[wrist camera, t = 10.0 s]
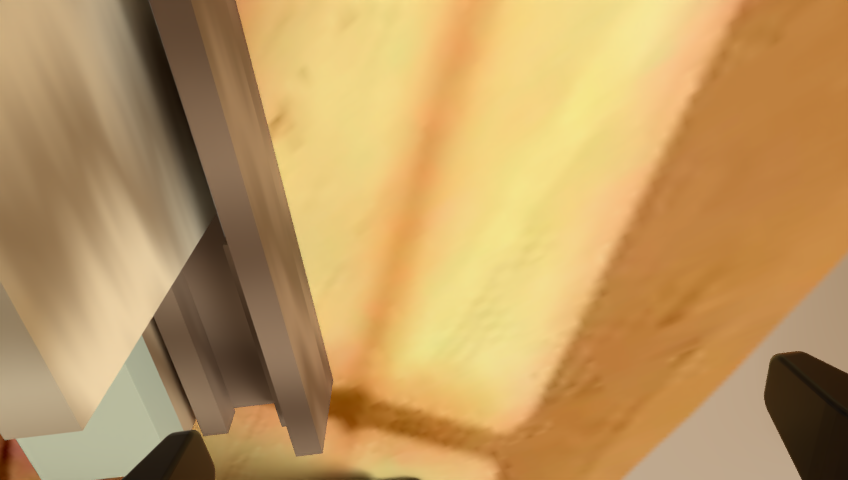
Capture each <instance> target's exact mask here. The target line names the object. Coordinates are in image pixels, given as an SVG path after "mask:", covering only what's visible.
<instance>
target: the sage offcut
mask: <svg viewBox="0 0 848 480" xmlns="http://www.w3.org/2000/svg"><path fill="white" fill-rule="evenodd" d="M179 431H184V430H183V428H182V426H181V423H180V421H179V419H178V417H177V414H176V412H175V410H174V407H173V405H172V403H171V401H170V398H169V396H168V394H167V392H166V389H165V387H164V385H163V382H162V380H161V378H160V376H159V373H158V371H157V369H156V366H155V364H154V362H153V360H152V357H151V355H150V353H149V350H148V348H147V346H146V344H145V341H144V339H143V337H142V335H141V337H140V338H139V340H138V342H137V343H136V345H135V346H134V348H133V350H132V351H131V353H130V355H129V356H128V358H127V360H126V361H125V363H124V364H123V366H122V368H121V369H120V371H119V373H118V374H117V376H116V377H115V379H114V381H113V382H112V384H111V386H110V387H109V389H108V391H107V392H106V394H105V395H104V397H103V399H102V400H101V402H100V404H99V405H98V407H97V408H96V410H95V412H94V413H93V415H92V417H91V418H90V420H89V421H88V423H87V425H86V426H85V428H84V430H83V431H77V432H69V433H60V434H52V435H44V436H35V437H27V438H18V439H16V440H17V442H18V443H19V445H20V447H21V448H22V450H23V451H24V453H25V455H26V456H27V458H28V459H29V461H30V462H31V464H32V466H33V467H34V469H35V470H36V472H37V474H38V475H39V477H40V478H41V480H98V479H107V478H115V477H124V476H126V475H127V474H128V473H129V472H130V471H131V470H132V469H133V468H134V467H135V466H136V465H137V464H138V463H139V462H140V461H141V460H143V459H144V458H145V457H146V456H147V455H148V454H149V453H150V452H151V451H152V450H153V449H154V448H155V447H156V446H157V445H158V444H159V443H160V442H161V441H162V440H163V439H164V438H165V437H166V436H168V435H169V434H171V433H173V432H179Z"/></svg>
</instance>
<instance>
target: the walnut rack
mask: <svg viewBox="0 0 848 480" xmlns="http://www.w3.org/2000/svg"><path fill="white" fill-rule="evenodd" d="M148 1H149V4H150V7H151V10H152V13H153V16H154V20H155V23H156V26H157V29H158V32H159V35H160V38H161V41H162V44H163V47H164V50H165V54H166V57H167V60H168V63H169V66H170V69H171V72H172V75H173V78H174V81H175V85H176V88H177V91H178V94H179V97H180V100H181V103H182V106H183V109H184V112H185V116H186V119H187V122H188V125H189V128H190V131H191V134H192V137H193V140H194V143H195V146H196V150H197V153H198V156H199V159H200V162H201V165H202V168H203V171H204V174H205V177H206V181H207V184H208V187H209V190H210V193H211V196H212V199H213V202H214V205H215V208H216V212H217V213H216V214H215V216H214V218H213V219H212V221H211V223H210V224H209V226H208V227H207V229H206V231H205V232H204V234H203V236H202V237H201V239H200V240H199V242H198V244H197V245H196V247H195V249H194V250H193V252H192V254H191V255H190V257H189V258H188V260H187V262H186V263H185V265H184V267H183V268H182V270H181V271H180V273H179V275H178V276H177V278H176V280H175V281H174V283H173V284H172V286H171V288H170V289H169V291H168V293H167V294H166V296H165V298H164V299H163V301H162V302H161V304H160V306H159V307H158V309H157V311H156V312H155V314H154V315H153V316H154V319H155V321H156V323H157V326H158V328H159V331H160V333H161V335H162V338H163V340H164V343H165V345H166V347H167V350H168V352H169V354H170V357H171V359H172V362H173V364H174V366H175V369H176V371H177V374H178V376H179V378H180V381H181V383H182V386H183V388H184V390H185V393H186V395H187V397H188V400H189V402H190V405H191V407H192V409H193V412H194V414H195V417H196V419H197V421H198V424H199V426H200V429H201V431H202V433H203V436H208V435H217V434H225V433H228V432H229V429H230V426H231V423H232V420H233V417H234V414H235V409H234V408H237V407H246V406H254V405H262V404H271V403H274V404H275V407H276V410H277V413H278V416H279V419H280V422H281V425H282V427H284V426H287V430H288V433H289V436H290V439H291V442H292V445H293V448H294V451H295V454H296V456H304V455H312V454H321V453H323V447H324V440H325V433H326V426H327V419H328V412H329V405H330V398H331V391H332V384H333V378H332V374H331V370H330V366H329V362H328V358H327V355H326V351H325V347H324V343H323V339H322V335H321V331H320V327H319V323H318V320H317V316H316V312H315V308H314V304H313V300H312V296H311V292H310V288H309V285H308V281H307V277H306V273H305V269H304V265H303V261H302V257H301V253H300V250H299V246H298V242H297V238H296V234H295V230H294V226H293V222H292V219H291V215H290V211H289V207H288V203H287V199H286V195H285V191H284V187H283V184H282V180H281V176H280V172H279V168H278V164H277V160H276V156H275V152H274V149H273V145H272V141H271V137H270V133H269V129H268V125H267V121H266V117H265V114H264V110H263V106H262V102H261V98H260V94H259V90H258V86H257V83H256V79H255V75H254V71H253V67H252V63H251V59H250V55H249V51H248V48H247V44H246V40H245V36H244V32H243V28H242V24H241V20H240V16H239V13H238V9H237V5H236V1H235V0H148Z"/></svg>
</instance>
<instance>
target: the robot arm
mask: <svg viewBox="0 0 848 480" xmlns="http://www.w3.org/2000/svg"><path fill="white" fill-rule="evenodd" d="M764 400H765V405H766V407H767V410H768V412H769V414H770V416H771V418H772V420H773V422H774V424H775V426H776V428H777V430H778V432H779V434H780V436H781V439H782V440H783V442H784V445H785V447H786V448H787V451H788V453H789V455H790V457H791V459H792V461H793V463H794V465H795V467H796V469H797V471H798V473H799V475H800V477H801V479H802V480H848V373H845V372H843V371H841V370H839V369H837V368H835V367H833V366H831V365H829V364H827V363H825V362H823V361H821V360H819V359H817V358H815V357H813V356H811V355H809V354H807V353H804V352H801V351H795V352H787V353H779V354H776V355H774V356H773V357H772V358H771V360H770V363H769V370H768V375H767V380H766V386H765V391H764ZM122 480H215V468H214V464H213V461H212V459H211V457H210V454H209V452H208V450H207V448H206V445H205V443H204V441H203V439H202V436H201V435H200V433H199V432H198V431H196V430H187V431H179V432H173V433H171V434H169V435H168V436H166V437H165V438H164V439H163V440H162V441H161V442H160V443H159V444H158V445H157V446H156V447H155V448H154V449H153V450H152V451H151V452H150V453H149V454H148V455H147V456H146V457H145V458H144V459H143V460H141V461H140V462H139V463H138V464H137V465H136V466H135V467H134V468H133V469H132V470H131V471H130V472H129V473H128V474H127V475H126V476H125V477H124V478H123V479H122Z"/></svg>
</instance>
